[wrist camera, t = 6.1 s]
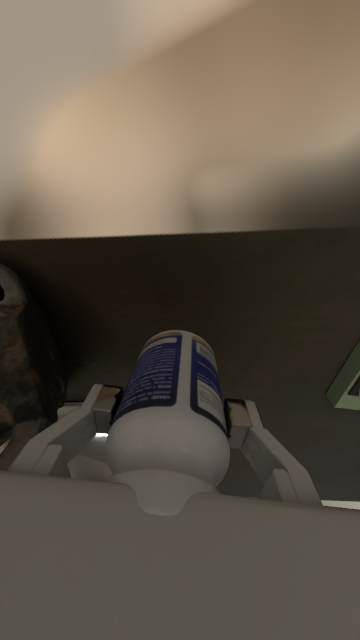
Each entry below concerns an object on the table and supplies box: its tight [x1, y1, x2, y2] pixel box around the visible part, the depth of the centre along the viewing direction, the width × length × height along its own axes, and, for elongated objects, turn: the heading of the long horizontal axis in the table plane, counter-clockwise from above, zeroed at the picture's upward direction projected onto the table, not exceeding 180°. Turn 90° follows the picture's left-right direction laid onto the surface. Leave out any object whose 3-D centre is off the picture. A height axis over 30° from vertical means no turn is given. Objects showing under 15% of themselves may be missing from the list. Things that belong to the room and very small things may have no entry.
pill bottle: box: [105, 330, 230, 516], centre depth 11 cm, size 6×6×10 cm
